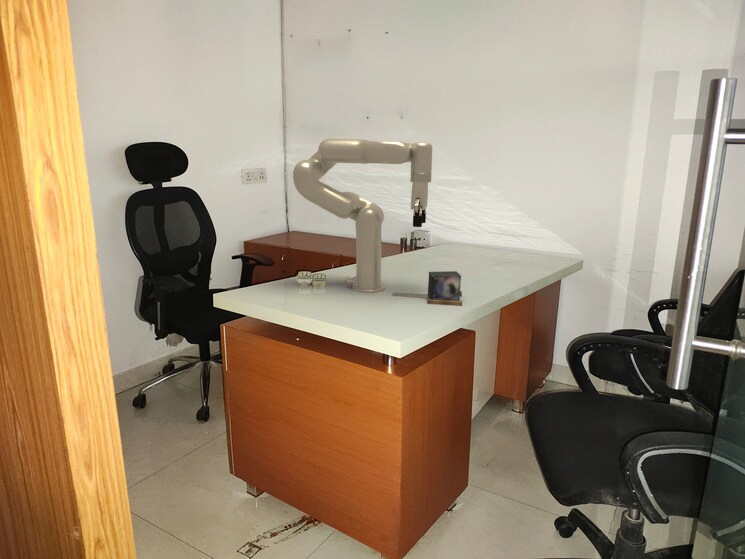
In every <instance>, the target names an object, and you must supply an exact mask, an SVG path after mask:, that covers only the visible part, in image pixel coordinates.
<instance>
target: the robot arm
mask: <svg viewBox="0 0 745 559" xmlns="http://www.w3.org/2000/svg"><path fill="white" fill-rule="evenodd" d="M317 148H318V149H317V151H315V153H313V155H311V156H310V157H309V158H308V159H305V160H301V161H299V162H297V164H296V165H295V166H294V169H293V170H292V179H293V184H294V187H295V189H296V191H297V192H298V193H299V194H300V195H301V196H302V197H303V198H304V199H305V200H307V201H309V202H310V203H312V204H313V205H315V206H318V207H319V208H321V209H323V210H325V211H327V212H328V213H331V214H333V215H334V216H335V217H337V218H339V219H343V220H345V219H348V218H349V219H351V220H353V221H355V225H354V226H355V236H356V237H355V240H356V241H355V242H356V243H355V244H356V245H355V246H356V247H355V248H356V253H355V254H356V258H355V259H356V265H355V266H356V274H355V276H353V277H349V276H348V277H347V276H346V277H345V282H346V283H347V284H352V286H351V287H352V288H351V289H352V290H353V291H355V292H359V293H368V294H369V293H370V294H372V293H381V292H383V291H384V290H385V289H386V286H385V285H384V284H383V283H382V225H383V222H384V219H385V215H384V214H385V213H384V211H383V209H382V208H381V207H380V206H379V205H377V204H376V203H374V202H371V200H368V199H366V198H364V197H362V196H360V195H358V194H356V193H354V192H351V191H340V190H338V189H335V188H333V187H331V186H330V185H329V184H326V183H324V182H322V181H320V179H322V177H323V176H325V175H327V173H328V172H329V171H330V170H332V169H333V168H334V167H335V166H336V165H337V164H362V165H365V164H366V165H367V164H384V165H402V164H405V163H410V180H409V182H410V183H412V186H411V194H410V195H411V197H410V209H411V210H412V211H413V216H412V227H414V228H422V227H423V224H425V223H426V222H427V221H426V220H427V212H426V211H427V206H428V198H429V196H428V195H429V183H432V170H433V169H432V166H433V145H432V143H429V142H413V143H412V142H411V143H410V142H404V141H373V140H368V139H359V138H358V139H357V138H356V139H355V138H353V139H352V138H351V139H350V138H349V139H348V138H325V139H323V140H322V141H321V142H320V143H319V144H318V147H317Z"/></svg>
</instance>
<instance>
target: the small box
mask: <svg viewBox="0 0 745 559" xmlns="http://www.w3.org/2000/svg"><path fill="white" fill-rule="evenodd" d="M427 284H428V285H427V294H428V295H427V300H428V299H431V300H449V301H461V300H460V299H461V297H460V291H461V286H462V275H461V274H460V273H459V272H458V271H456V270H454V271H453V270H452V271H446V270H445V271H428V283H427Z"/></svg>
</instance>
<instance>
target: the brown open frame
mask: <svg viewBox="0 0 745 559" xmlns="http://www.w3.org/2000/svg"><path fill="white" fill-rule="evenodd" d="M462 292H463V291H462V290H460V298H461V297H462V296H463V294H462ZM426 300H427V301H426V304H427V305H442V306H458V307H462V306H463V300H460V301H449V300H431V299H428V298H427V299H426Z"/></svg>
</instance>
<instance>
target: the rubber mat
mask: <svg viewBox="0 0 745 559" xmlns="http://www.w3.org/2000/svg"><path fill="white" fill-rule="evenodd" d="M391 297H401V298H402V297H403V298H414V299H421V300H422V299H425V300H428V298H427V297H428V293H410V292H392V294H391Z"/></svg>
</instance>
